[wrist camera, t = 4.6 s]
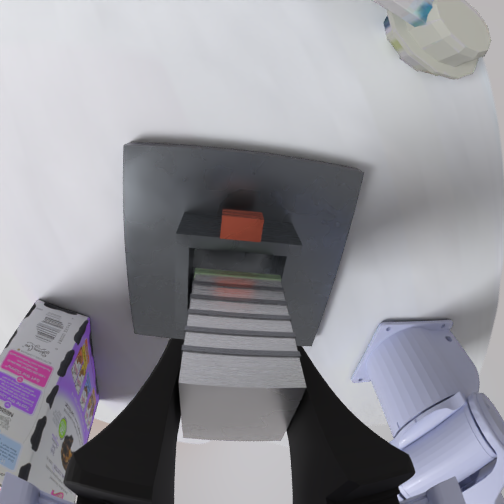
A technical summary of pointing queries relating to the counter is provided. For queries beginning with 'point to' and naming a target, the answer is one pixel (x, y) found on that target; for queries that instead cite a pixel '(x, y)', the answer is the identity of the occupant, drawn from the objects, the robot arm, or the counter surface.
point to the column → (238, 359)
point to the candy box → (46, 397)
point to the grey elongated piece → (437, 35)
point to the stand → (231, 227)
